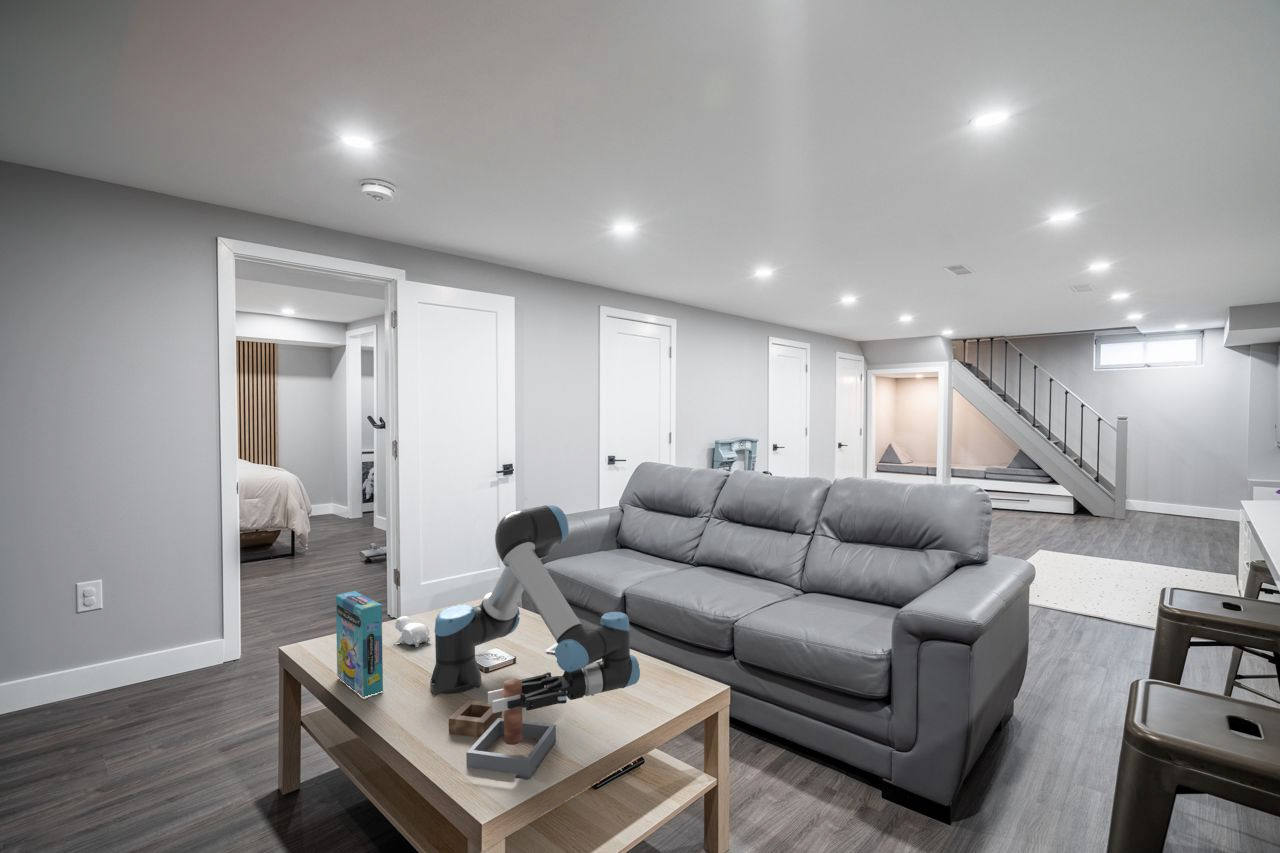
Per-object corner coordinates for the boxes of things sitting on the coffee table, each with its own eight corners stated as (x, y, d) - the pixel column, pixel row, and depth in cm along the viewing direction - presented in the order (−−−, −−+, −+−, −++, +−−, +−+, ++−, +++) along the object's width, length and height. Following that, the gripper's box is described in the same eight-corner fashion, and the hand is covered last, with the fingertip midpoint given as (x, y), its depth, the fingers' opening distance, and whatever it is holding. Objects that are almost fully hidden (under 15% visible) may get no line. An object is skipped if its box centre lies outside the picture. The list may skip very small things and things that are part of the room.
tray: (466, 770, 138) (466, 752, 138) (498, 734, 154) (498, 717, 154) (529, 779, 134) (529, 760, 134) (556, 741, 150) (555, 724, 150)
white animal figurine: (430, 649, 219) (405, 627, 226) (435, 629, 217) (410, 608, 224) (410, 657, 212) (386, 634, 219) (416, 637, 210) (390, 615, 217)
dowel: (501, 743, 142) (500, 686, 142) (509, 734, 146) (508, 678, 146) (518, 745, 141) (516, 687, 141) (525, 735, 145) (524, 679, 145)
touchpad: (556, 646, 214) (555, 640, 214) (593, 652, 208) (592, 645, 208) (544, 654, 206) (544, 648, 206) (582, 660, 201) (582, 654, 201)
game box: (336, 679, 187) (334, 595, 187) (356, 673, 192) (354, 590, 191) (362, 700, 173) (360, 609, 173) (384, 692, 178) (382, 603, 177)
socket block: (448, 737, 153) (448, 718, 153) (468, 717, 162) (468, 700, 162) (484, 741, 150) (483, 722, 150) (502, 721, 160) (501, 703, 160)
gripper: (594, 710, 144) (499, 735, 134) (570, 682, 160) (483, 702, 149) (594, 680, 144) (498, 702, 133) (570, 654, 159) (482, 672, 149)
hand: (490, 702), depth 141 cm, fingers closed on dowel, 4 cm apart
